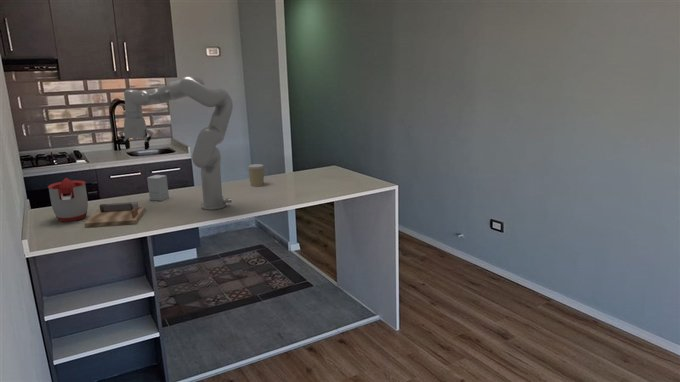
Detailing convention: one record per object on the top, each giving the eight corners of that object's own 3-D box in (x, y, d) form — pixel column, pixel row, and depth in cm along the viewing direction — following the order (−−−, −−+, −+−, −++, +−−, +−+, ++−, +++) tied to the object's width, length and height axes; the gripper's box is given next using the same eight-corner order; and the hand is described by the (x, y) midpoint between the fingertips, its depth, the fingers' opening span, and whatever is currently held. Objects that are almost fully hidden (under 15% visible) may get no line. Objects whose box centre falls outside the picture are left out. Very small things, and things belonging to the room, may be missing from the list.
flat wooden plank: (146, 210, 240) (144, 199, 239) (136, 224, 220) (135, 212, 218) (99, 213, 237) (97, 202, 235) (84, 227, 216) (83, 216, 214)
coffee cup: (268, 184, 290) (267, 164, 287) (257, 187, 282) (256, 167, 279) (256, 182, 295) (255, 163, 292) (246, 185, 287) (244, 166, 284)
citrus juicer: (51, 226, 217) (43, 184, 212) (55, 216, 233) (48, 176, 228) (89, 222, 223) (83, 180, 218) (91, 212, 239) (85, 172, 234)
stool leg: (139, 207, 237) (138, 201, 236) (138, 209, 234) (137, 203, 233) (101, 209, 234) (100, 204, 233) (99, 211, 231) (98, 205, 230)
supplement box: (169, 197, 263) (167, 175, 260) (160, 201, 256) (157, 178, 253) (158, 196, 266) (155, 174, 262) (149, 200, 259) (146, 177, 256)
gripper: (113, 115, 235) (117, 149, 239) (148, 116, 234) (151, 150, 239) (120, 113, 242) (124, 147, 246) (154, 114, 241) (157, 148, 246)
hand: (137, 149), depth 243 cm, fingers open, 9 cm apart
